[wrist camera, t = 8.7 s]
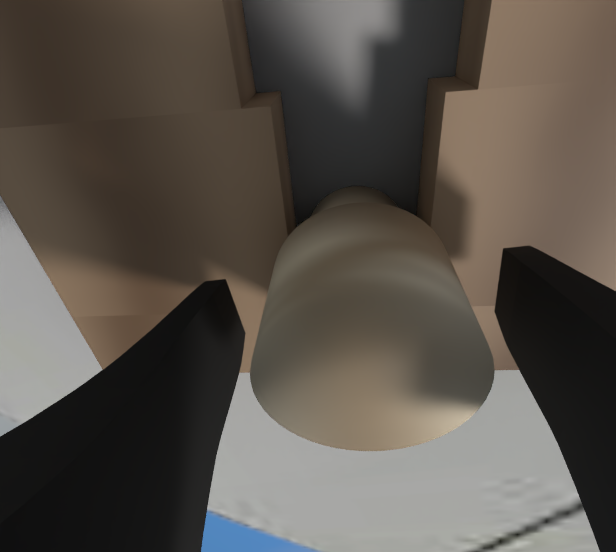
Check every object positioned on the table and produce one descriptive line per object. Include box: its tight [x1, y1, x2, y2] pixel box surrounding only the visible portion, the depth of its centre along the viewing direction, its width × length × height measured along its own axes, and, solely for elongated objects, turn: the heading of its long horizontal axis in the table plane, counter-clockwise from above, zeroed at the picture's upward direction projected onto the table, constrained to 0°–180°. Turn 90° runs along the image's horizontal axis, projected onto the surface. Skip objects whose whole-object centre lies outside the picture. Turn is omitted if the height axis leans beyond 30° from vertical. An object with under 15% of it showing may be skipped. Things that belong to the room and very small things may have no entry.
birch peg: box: [250, 186, 495, 451], centre depth 10 cm, size 5×5×6 cm
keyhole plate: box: [0, 0, 616, 373], centre depth 10 cm, size 20×18×2 cm
